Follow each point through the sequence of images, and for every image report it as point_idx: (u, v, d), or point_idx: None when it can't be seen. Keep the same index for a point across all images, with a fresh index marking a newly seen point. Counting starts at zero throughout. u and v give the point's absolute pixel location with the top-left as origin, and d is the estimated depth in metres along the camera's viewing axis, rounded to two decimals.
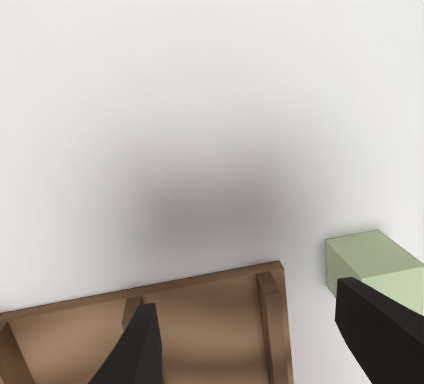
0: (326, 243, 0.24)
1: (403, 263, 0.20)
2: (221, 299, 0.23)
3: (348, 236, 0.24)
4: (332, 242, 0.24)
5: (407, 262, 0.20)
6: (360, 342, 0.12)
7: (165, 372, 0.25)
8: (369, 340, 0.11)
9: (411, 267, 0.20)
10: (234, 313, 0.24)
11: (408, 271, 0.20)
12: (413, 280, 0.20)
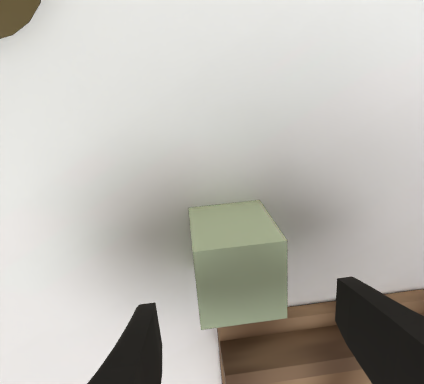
0: None
1: None
2: None
3: None
4: None
5: None
6: (360, 342, 0.12)
7: None
8: (369, 340, 0.11)
9: None
10: None
11: (198, 273, 0.14)
12: (214, 265, 0.14)
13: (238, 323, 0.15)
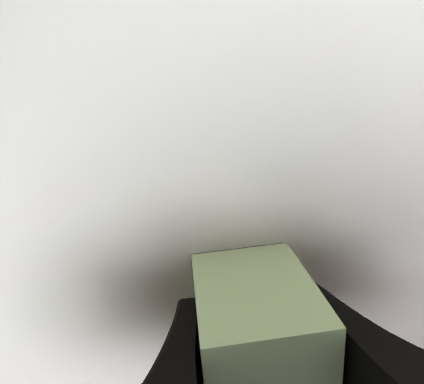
0: None
1: None
2: None
3: None
4: None
5: None
6: None
7: None
8: None
9: None
10: None
11: (209, 378, 0.09)
12: (233, 367, 0.09)
13: None
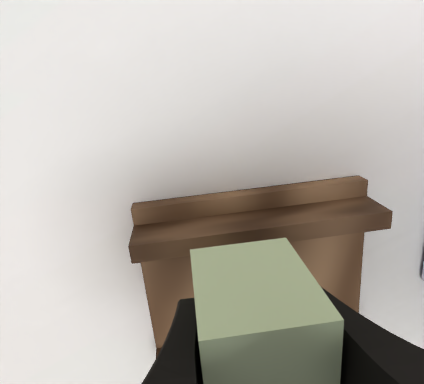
0: None
1: None
2: (169, 276, 0.20)
3: None
4: None
5: None
6: None
7: None
8: None
9: None
10: None
11: (207, 370, 0.09)
12: (231, 359, 0.09)
13: None
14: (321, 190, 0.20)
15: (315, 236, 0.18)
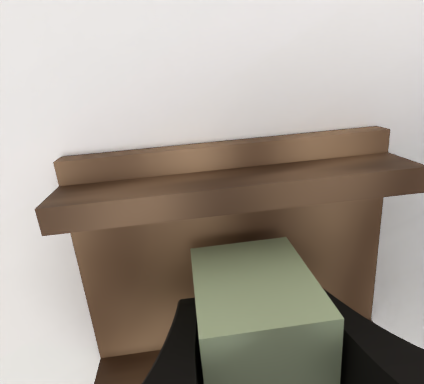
0: None
1: None
2: (114, 259, 0.15)
3: None
4: None
5: None
6: None
7: None
8: None
9: None
10: (144, 240, 0.15)
11: (208, 369, 0.09)
12: (231, 357, 0.09)
13: None
14: (325, 142, 0.14)
15: (316, 200, 0.12)
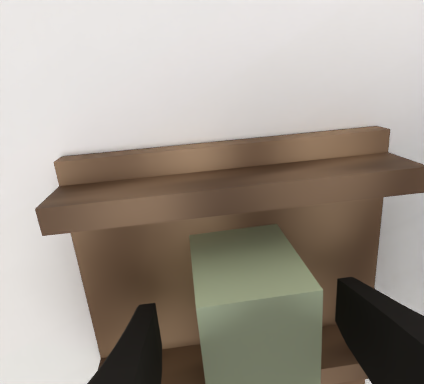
0: None
1: None
2: (114, 259, 0.15)
3: None
4: None
5: None
6: (360, 342, 0.12)
7: None
8: (369, 340, 0.11)
9: None
10: (144, 240, 0.15)
11: (204, 335, 0.10)
12: (225, 324, 0.10)
13: None
14: (325, 142, 0.14)
15: (316, 200, 0.12)
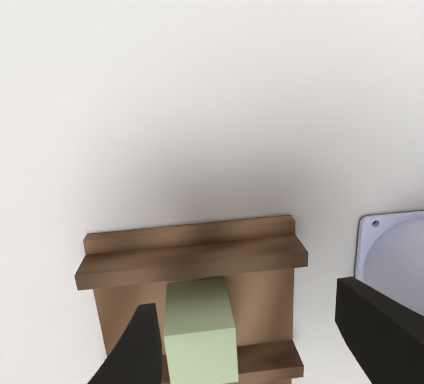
0: None
1: None
2: (118, 298, 0.23)
3: None
4: None
5: None
6: (360, 342, 0.12)
7: None
8: (369, 340, 0.11)
9: None
10: (137, 287, 0.23)
11: (168, 351, 0.19)
12: (180, 345, 0.19)
13: None
14: (253, 228, 0.22)
15: (240, 271, 0.20)
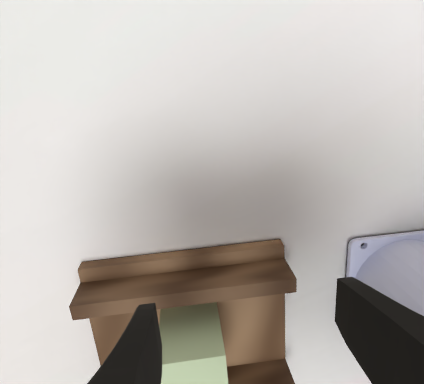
0: None
1: None
2: (114, 323, 0.24)
3: None
4: None
5: None
6: (360, 342, 0.12)
7: None
8: (369, 340, 0.11)
9: None
10: None
11: (161, 379, 0.19)
12: (172, 373, 0.19)
13: None
14: (243, 254, 0.23)
15: (230, 298, 0.21)
